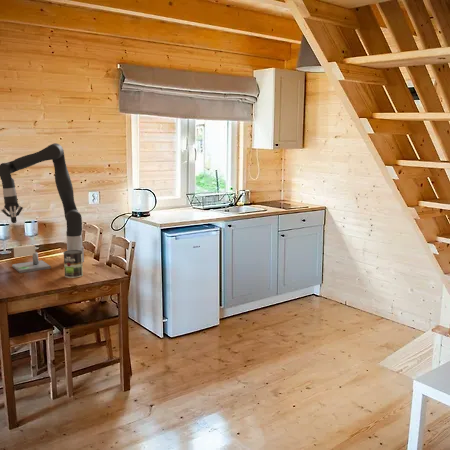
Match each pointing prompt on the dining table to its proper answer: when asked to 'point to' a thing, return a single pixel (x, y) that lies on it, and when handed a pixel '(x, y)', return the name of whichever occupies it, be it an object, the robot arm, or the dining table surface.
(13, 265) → the board
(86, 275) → the dining table surface
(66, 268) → the coffee can
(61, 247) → the dining table surface
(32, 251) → the lever handle
